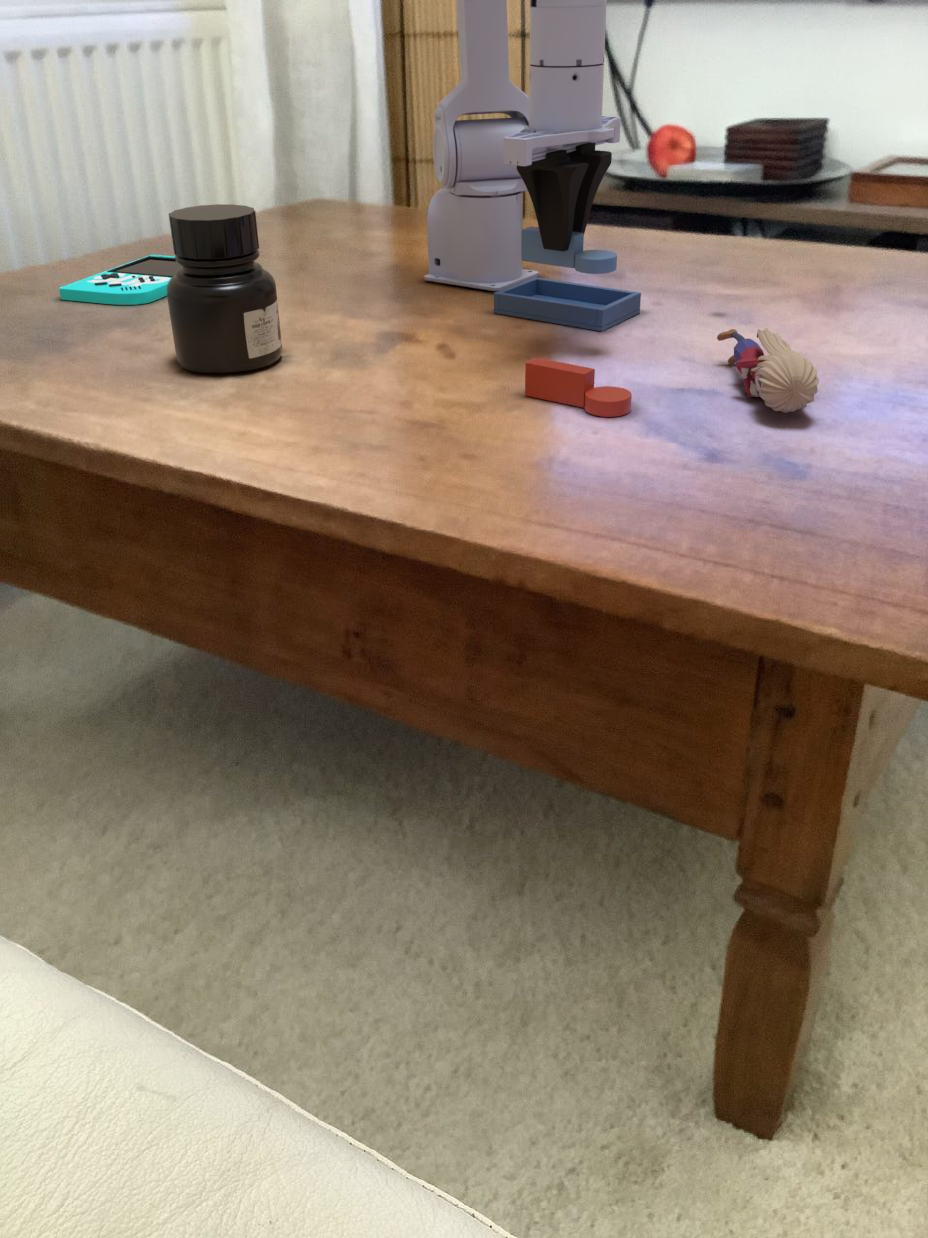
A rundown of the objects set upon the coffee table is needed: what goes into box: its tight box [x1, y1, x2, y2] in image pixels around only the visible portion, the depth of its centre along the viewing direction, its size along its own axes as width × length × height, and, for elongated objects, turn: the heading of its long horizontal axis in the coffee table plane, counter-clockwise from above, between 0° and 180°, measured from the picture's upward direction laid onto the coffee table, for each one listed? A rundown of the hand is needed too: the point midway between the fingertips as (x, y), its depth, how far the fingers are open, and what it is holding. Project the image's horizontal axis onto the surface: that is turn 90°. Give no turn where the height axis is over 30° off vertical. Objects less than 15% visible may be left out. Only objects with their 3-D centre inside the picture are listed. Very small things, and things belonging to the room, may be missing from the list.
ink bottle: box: [166, 203, 283, 374], centre depth 93 cm, size 10×9×12 cm
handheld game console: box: [58, 254, 182, 306], centre depth 119 cm, size 10×16×1 cm, turn 158°
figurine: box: [716, 328, 820, 414], centre depth 85 cm, size 6×4×15 cm
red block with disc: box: [524, 357, 633, 418], centre depth 84 cm, size 8×3×3 cm, turn 54°
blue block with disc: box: [521, 226, 618, 275], centre depth 93 cm, size 8×3×3 cm, turn 54°
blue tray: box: [493, 276, 642, 332], centre depth 106 cm, size 12×7×2 cm, turn 54°
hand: (562, 246), depth 93 cm, fingers closed on blue block with disc
